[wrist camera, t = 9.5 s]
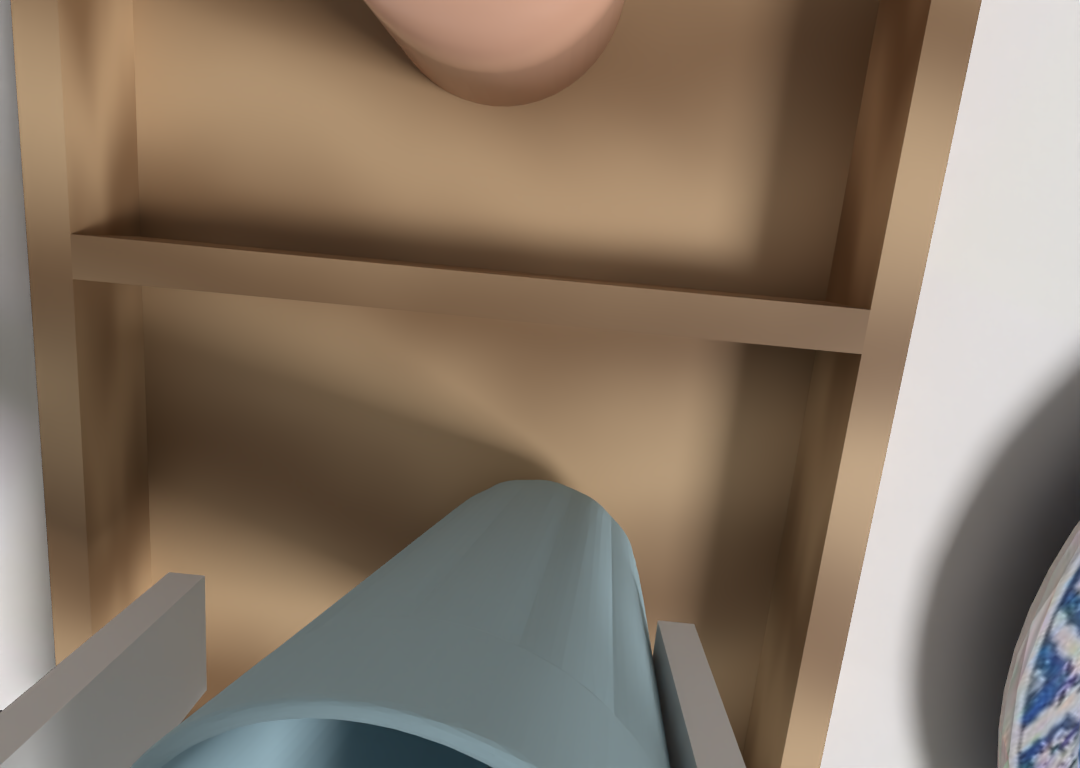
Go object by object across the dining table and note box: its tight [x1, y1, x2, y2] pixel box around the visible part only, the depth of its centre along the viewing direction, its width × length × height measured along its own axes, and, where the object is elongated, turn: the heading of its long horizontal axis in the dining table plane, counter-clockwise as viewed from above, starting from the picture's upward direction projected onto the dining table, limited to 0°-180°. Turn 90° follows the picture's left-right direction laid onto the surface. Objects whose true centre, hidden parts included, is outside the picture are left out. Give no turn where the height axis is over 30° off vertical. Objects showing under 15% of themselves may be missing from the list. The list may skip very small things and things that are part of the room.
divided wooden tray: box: [11, 0, 982, 768], centre depth 16 cm, size 31×20×4 cm, turn 175°
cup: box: [130, 480, 671, 768], centre depth 12 cm, size 8×8×10 cm
